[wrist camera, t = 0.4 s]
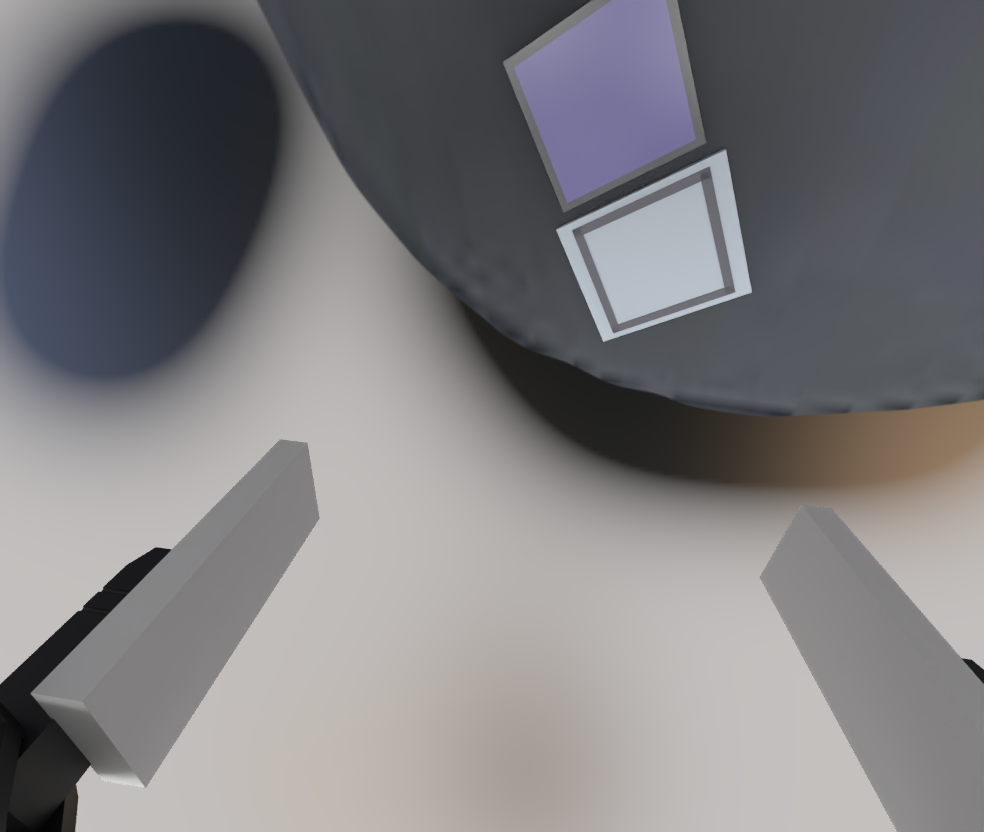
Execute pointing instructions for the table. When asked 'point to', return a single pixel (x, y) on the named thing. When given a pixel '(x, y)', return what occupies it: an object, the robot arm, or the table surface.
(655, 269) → the print card
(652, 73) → the ink pad
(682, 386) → the table surface
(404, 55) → the table surface
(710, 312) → the table surface
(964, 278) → the table surface
